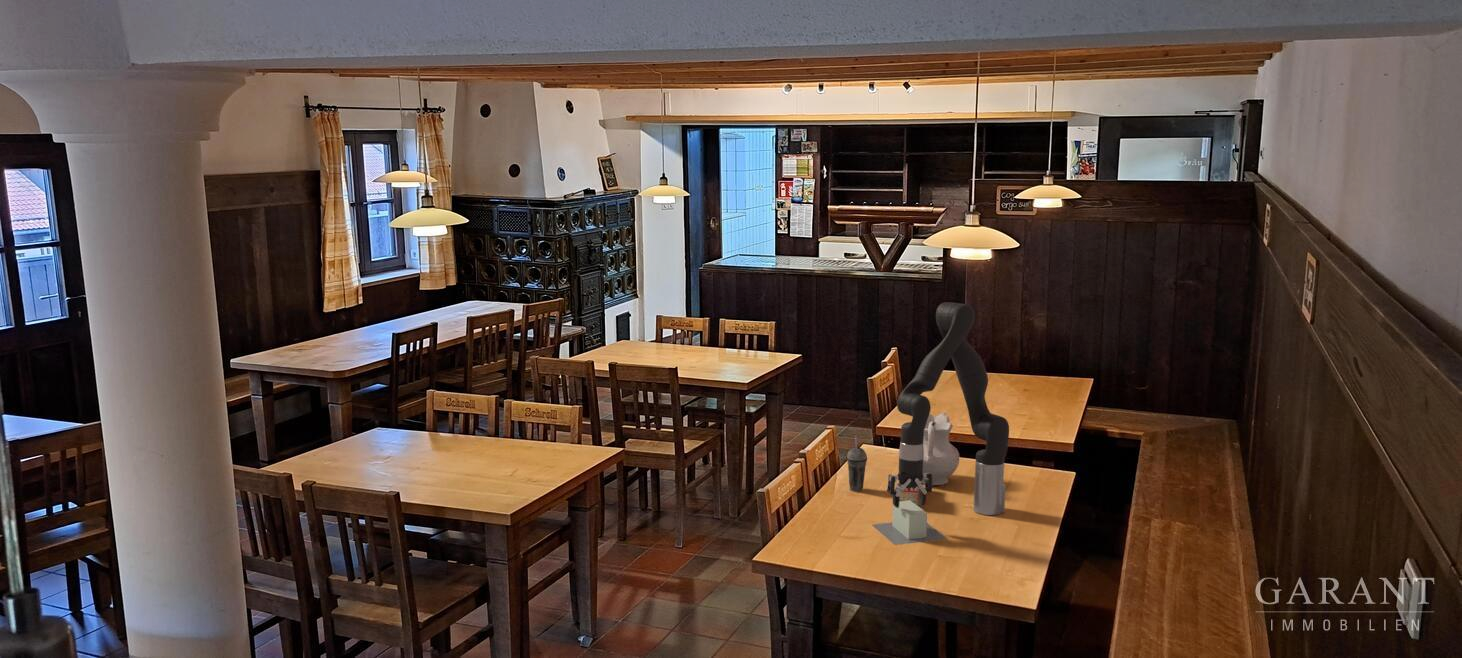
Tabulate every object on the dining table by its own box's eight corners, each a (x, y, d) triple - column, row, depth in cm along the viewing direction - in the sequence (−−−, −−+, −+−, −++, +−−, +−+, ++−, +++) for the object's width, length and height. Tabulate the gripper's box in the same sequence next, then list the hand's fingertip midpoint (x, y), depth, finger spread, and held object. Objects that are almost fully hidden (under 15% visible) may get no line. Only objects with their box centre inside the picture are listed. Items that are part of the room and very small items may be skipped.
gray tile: (922, 520, 342) (922, 519, 342) (948, 539, 325) (948, 538, 325) (871, 525, 337) (871, 524, 337) (894, 545, 320) (894, 544, 320)
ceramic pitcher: (962, 494, 370) (970, 426, 366) (907, 490, 370) (915, 422, 366) (950, 475, 392) (958, 411, 387) (898, 471, 392) (906, 406, 387)
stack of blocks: (901, 488, 374) (902, 455, 372) (918, 489, 373) (920, 456, 370) (898, 508, 353) (900, 473, 351) (917, 510, 352) (918, 474, 350)
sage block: (909, 524, 338) (910, 500, 336) (926, 537, 326) (927, 512, 325) (892, 525, 336) (893, 502, 335) (908, 539, 325) (909, 514, 323)
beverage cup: (869, 488, 373) (871, 434, 370) (861, 494, 367) (862, 439, 363) (851, 485, 377) (852, 431, 373) (842, 490, 371) (843, 436, 367)
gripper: (926, 451, 332) (924, 500, 335) (885, 454, 329) (883, 503, 331) (937, 458, 325) (935, 508, 328) (895, 461, 321) (893, 511, 324)
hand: (909, 505), depth 330 cm, fingers open, 8 cm apart
